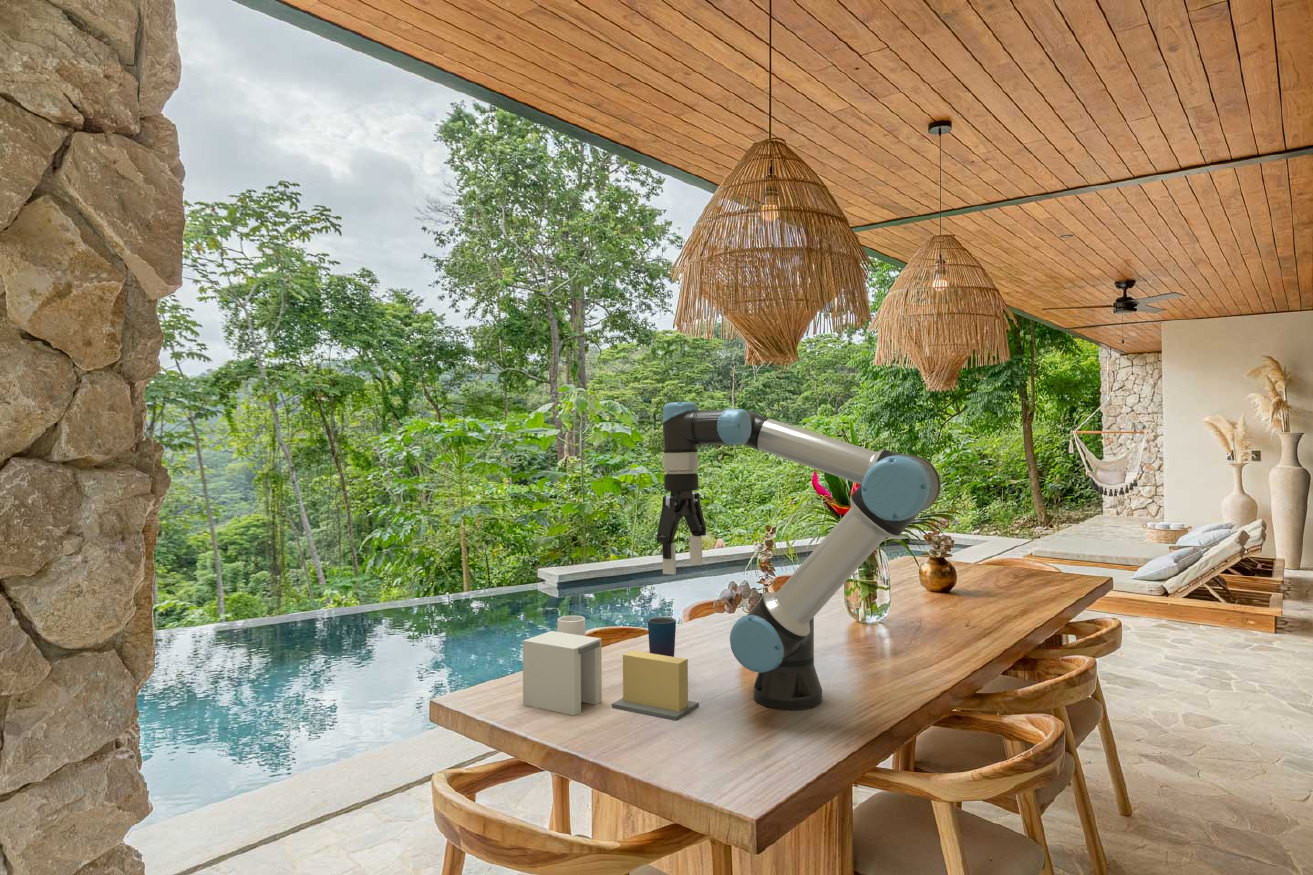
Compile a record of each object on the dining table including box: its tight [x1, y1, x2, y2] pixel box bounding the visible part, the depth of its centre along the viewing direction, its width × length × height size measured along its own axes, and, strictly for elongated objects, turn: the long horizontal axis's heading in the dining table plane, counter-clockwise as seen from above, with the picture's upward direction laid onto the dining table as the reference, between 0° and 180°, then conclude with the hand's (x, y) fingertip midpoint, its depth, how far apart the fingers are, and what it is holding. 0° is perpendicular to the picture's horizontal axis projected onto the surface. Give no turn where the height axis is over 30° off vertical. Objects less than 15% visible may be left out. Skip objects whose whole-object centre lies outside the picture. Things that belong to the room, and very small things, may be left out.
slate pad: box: [611, 697, 700, 721], centre depth 169 cm, size 16×10×1 cm, turn 59°
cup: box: [647, 616, 677, 657], centre depth 185 cm, size 7×7×15 cm
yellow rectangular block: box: [622, 650, 689, 711], centre depth 169 cm, size 14×4×10 cm, turn 59°
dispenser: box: [522, 630, 603, 717], centre depth 172 cm, size 15×10×14 cm
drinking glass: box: [556, 615, 587, 636], centre depth 188 cm, size 7×7×15 cm
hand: (683, 569), depth 171 cm, fingers open, 13 cm apart
